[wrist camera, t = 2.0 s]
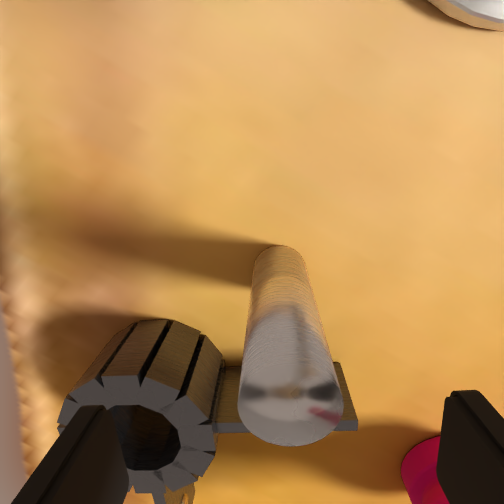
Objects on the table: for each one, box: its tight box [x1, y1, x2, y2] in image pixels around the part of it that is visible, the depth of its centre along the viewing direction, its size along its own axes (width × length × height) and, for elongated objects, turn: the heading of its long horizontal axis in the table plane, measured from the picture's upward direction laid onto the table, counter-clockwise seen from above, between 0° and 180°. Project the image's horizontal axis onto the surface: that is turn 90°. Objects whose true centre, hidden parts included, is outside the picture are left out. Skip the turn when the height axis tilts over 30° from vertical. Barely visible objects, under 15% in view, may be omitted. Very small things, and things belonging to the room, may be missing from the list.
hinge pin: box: [237, 246, 344, 446], centre depth 14 cm, size 3×3×10 cm
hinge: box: [57, 319, 358, 504], centre depth 20 cm, size 16×16×5 cm
